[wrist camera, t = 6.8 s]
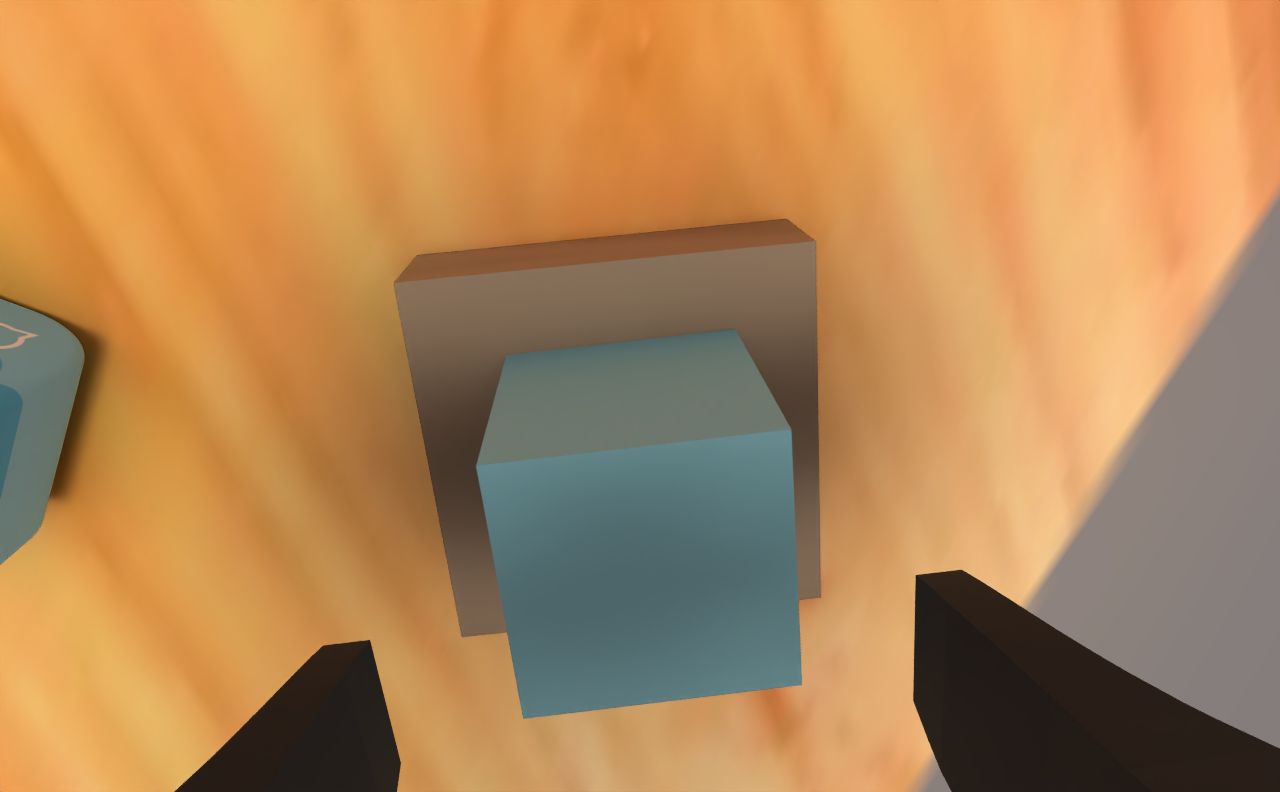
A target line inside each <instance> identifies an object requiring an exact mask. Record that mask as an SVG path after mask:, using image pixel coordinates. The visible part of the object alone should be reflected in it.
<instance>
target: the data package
mask: <svg viewBox="0 0 1280 792" xmlns="http://www.w3.org/2000/svg"><path fill="white" fill-rule="evenodd" d="M84 358H85V354H84V350H83V347H82V345H81V343H80V342H79V340H78V339H77V338H76V337H75V335H74V334H73V333H72V332H70V331H69V330H68V329H67V328H65V327H64V326H63V325H61V324H60V323H58V322H56V321H54V320H53V319H51V318H49V317H47V316H44V315H42V314H40V313H37V312H35V311H32V310H30V309H27V308H24V307H22V306H19V305H16V304H13V303H11V302H8V301H5V300H3V299H0V565H1V564H2V563H3V562H4V561H5V560H6V559H8V558H9V557H10V556H11V555H12V554H13V553H15V552H16V551H17V550H18V549H19V548H20V547H21V546H23V545H24V544H25V543H26V542H27V541H28V540H30V539H31V538H32V537H33V536H34V535H35V534H36V532H37V531H38V529H39V528H40V526H41V524H42V522H43V519H44V515H45V512H46V508H47V504H48V500H49V496H50V492H51V488H52V485H53V481H54V477H55V473H56V469H57V465H58V461H59V458H60V454H61V450H62V446H63V442H64V438H65V434H66V430H67V427H68V423H69V419H70V415H71V411H72V407H73V403H74V400H75V396H76V392H77V388H78V384H79V380H80V376H81V373H82V369H83V365H84Z"/></svg>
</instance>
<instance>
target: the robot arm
mask: <svg viewBox="0 0 1280 792" xmlns="http://www.w3.org/2000/svg"><path fill="white" fill-rule="evenodd" d="M913 701H914V704H915V706H916V709H917V711H918V714H919V717H920V719H921V722H922V725H923V727H924V730H925V733H926V735H927V738H928V741H929V743H930V745H931V748H932V750H933V753H934V755H935V758H936V760H937V763H938V765H939V768H940V770H941V772H942V774H943V776H944V778H945V780H946V782H947V783H948V786H949V788H950V789H951V791H952V792H1280V748H1277V747H1275V746H1273V745H1271V744H1269V743H1266V742H1264V741H1262V740H1260V739H1258V738H1256V737H1254V736H1251V735H1249V734H1247V733H1245V732H1243V731H1241V730H1239V729H1237V728H1234V727H1232V726H1230V725H1228V724H1226V723H1224V722H1222V721H1219V720H1217V719H1215V718H1213V717H1211V716H1209V715H1207V714H1205V713H1203V712H1201V711H1199V710H1197V709H1195V708H1193V707H1191V706H1189V705H1187V704H1185V703H1183V702H1181V701H1180V700H1178V699H1176V698H1174V697H1172V696H1170V695H1169V694H1167V693H1165V692H1163V691H1161V690H1159V689H1158V688H1156V687H1154V686H1152V685H1150V684H1148V683H1147V682H1145V681H1143V680H1141V679H1139V678H1137V677H1136V676H1134V675H1132V674H1130V673H1128V672H1127V671H1125V670H1123V669H1121V668H1120V667H1118V666H1116V665H1115V664H1113V663H1111V662H1109V661H1107V660H1106V659H1104V658H1102V657H1101V656H1099V655H1098V654H1096V653H1094V652H1092V651H1091V650H1089V649H1088V648H1086V647H1084V646H1083V645H1081V644H1079V643H1078V642H1076V641H1074V640H1073V639H1071V638H1070V637H1068V636H1066V635H1065V634H1063V633H1062V632H1060V631H1058V630H1056V629H1055V628H1054V627H1052V626H1050V625H1049V624H1047V623H1046V622H1044V621H1042V620H1041V619H1039V618H1038V617H1036V616H1035V615H1033V614H1031V613H1030V612H1028V611H1027V610H1025V609H1024V608H1022V607H1021V606H1019V605H1017V604H1016V603H1014V602H1013V601H1011V600H1010V599H1008V598H1007V597H1005V596H1003V595H1002V594H1000V593H999V592H997V591H996V590H994V589H992V588H991V587H989V586H988V585H986V584H985V583H983V582H981V581H980V580H978V579H976V578H975V577H973V576H971V575H970V574H968V573H966V572H964V571H963V570H956V571H947V572H939V573H930V574H922V575H916V590H915V641H914V693H913ZM400 765H401V762H400V758H399V754H398V750H397V746H396V742H395V738H394V734H393V730H392V726H391V722H390V718H389V714H388V710H387V706H386V702H385V698H384V694H383V690H382V686H381V682H380V678H379V674H378V670H377V666H376V662H375V658H374V654H373V650H372V646H371V642H370V640H367V641H358V642H350V643H342V644H333V645H325V646H322V647H321V648H320V649H319V650H318V651H317V652H316V653H315V654H314V655H313V656H312V657H311V658H310V659H309V660H308V661H307V662H306V663H305V664H304V665H303V666H302V667H301V668H300V669H299V670H298V671H297V672H296V673H295V674H294V675H293V676H292V677H291V678H290V679H289V680H288V681H287V682H286V683H285V684H284V685H283V686H282V687H281V688H280V689H279V690H278V691H277V692H276V693H275V694H274V695H273V696H272V697H271V698H270V699H269V700H268V701H267V702H266V703H265V705H264V706H263V707H262V708H261V709H260V710H259V711H258V712H257V713H256V714H255V715H254V716H253V717H252V718H251V719H250V720H249V721H248V722H247V723H246V724H245V725H244V726H243V727H242V728H241V729H240V730H239V731H238V732H237V733H236V734H235V735H234V736H233V737H232V738H231V739H230V740H229V741H228V742H227V743H226V744H225V745H224V746H223V747H222V748H221V749H220V750H219V751H218V752H217V753H216V754H215V755H214V756H213V757H211V758H210V759H209V760H208V761H207V762H206V763H205V764H204V765H203V766H202V767H201V768H200V769H199V770H197V771H196V772H195V773H194V774H193V775H192V776H191V777H190V778H189V779H188V780H187V781H186V782H184V783H183V784H182V785H181V786H180V787H179V788H178V789H177V790H176V791H175V792H397V787H398V780H399V773H400Z"/></svg>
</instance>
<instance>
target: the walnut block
mask: <svg viewBox="0 0 1280 792" xmlns="http://www.w3.org/2000/svg"><path fill="white" fill-rule="evenodd" d="M394 288H395V293H396V298H397V303H398V308H399V314H400V319H401V324H402V329H403V334H404V340H405V345H406V350H407V355H408V360H409V366H410V371H411V376H412V381H413V386H414V392H415V397H416V402H417V407H418V412H419V418H420V423H421V428H422V433H423V438H424V444H425V449H426V454H427V459H428V464H429V470H430V475H431V480H432V485H433V490H434V495H435V501H436V506H437V511H438V516H439V521H440V527H441V532H442V537H443V542H444V547H445V553H446V558H447V563H448V568H449V573H450V579H451V584H452V589H453V594H454V599H455V605H456V610H457V615H458V620H459V625H460V631H461V636H462V637H468V636H477V635H486V634H495V633H504V632H507V629H506V623H505V618H504V613H503V607H502V602H501V596H500V591H499V586H498V580H497V575H496V570H495V564H494V559H493V554H492V548H491V543H490V538H489V532H488V527H487V522H486V516H485V511H484V506H483V500H482V495H481V489H480V484H479V479H478V473H477V468H476V464H477V461H478V457H479V453H480V450H481V446H482V442H483V439H484V435H485V431H486V428H487V424H488V420H489V417H490V413H491V409H492V406H493V402H494V399H495V395H496V391H497V388H498V384H499V380H500V377H501V373H502V369H503V366H504V362H505V358H506V355H513V354H521V353H530V352H539V351H548V350H557V349H565V348H574V347H583V346H592V345H601V344H609V343H618V342H627V341H636V340H644V339H653V338H662V337H671V336H680V335H688V334H697V333H706V332H715V331H723V330H732V329H736V331H737V333H738V335H739V336H740V338H741V340H742V342H743V344H744V345H745V347H746V349H747V351H748V353H749V354H750V356H751V358H752V360H753V361H754V363H755V365H756V367H757V369H758V370H759V372H760V374H761V376H762V378H763V379H764V381H765V383H766V385H767V387H768V388H769V390H770V392H771V394H772V396H773V397H774V399H775V401H776V403H777V405H778V406H779V408H780V410H781V412H782V413H783V415H784V417H785V419H786V421H787V422H788V424H789V426H790V428H791V433H792V457H793V482H794V506H795V530H796V554H797V578H798V600H803V599H812V598H821V578H820V507H819V437H818V366H817V296H816V241H815V240H814V239H812V238H811V237H810V236H808V235H807V234H806V233H804V232H803V231H802V230H801V229H799V228H798V227H797V226H795V225H794V224H793V223H791V222H790V221H789V220H787V219H780V220H770V221H760V222H750V223H739V224H729V225H719V226H709V227H699V228H689V229H678V230H668V231H658V232H648V233H638V234H628V235H617V236H607V237H597V238H587V239H577V240H567V241H556V242H546V243H536V244H526V245H516V246H506V247H495V248H485V249H475V250H465V251H455V252H445V253H435V254H424V255H417V256H416V257H415V259H414V260H413V261H412V262H411V263H410V264H409V266H408V267H407V268H406V269H405V270H404V271H403V273H402V274H401V275H400V276H399V277H398V278H397V280H396V281H395V282H394Z"/></svg>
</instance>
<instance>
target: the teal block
mask: <svg viewBox="0 0 1280 792" xmlns="http://www.w3.org/2000/svg"><path fill="white" fill-rule="evenodd" d="M476 468H477V473H478V479H479V484H480V489H481V495H482V500H483V506H484V511H485V516H486V522H487V527H488V532H489V538H490V543H491V548H492V554H493V559H494V564H495V570H496V575H497V580H498V586H499V591H500V596H501V602H502V607H503V613H504V618H505V623H506V629H507V634H508V639H509V645H510V650H511V655H512V661H513V666H514V671H515V677H516V682H517V687H518V693H519V698H520V703H521V709H522V714H523V719H525V718H533V717H541V716H550V715H558V714H566V713H574V712H583V711H591V710H599V709H608V708H616V707H624V706H632V705H641V704H649V703H657V702H665V701H674V700H682V699H690V698H698V697H707V696H715V695H723V694H731V693H740V692H748V691H756V690H764V689H773V688H781V687H789V686H797V685H802V674H801V650H800V626H799V602H798V578H797V554H796V530H795V506H794V482H793V457H792V433H791V428H790V426H789V424H788V422H787V421H786V419H785V417H784V415H783V413H782V412H781V410H780V408H779V406H778V405H777V403H776V401H775V399H774V397H773V396H772V394H771V392H770V390H769V388H768V387H767V385H766V383H765V381H764V379H763V378H762V376H761V374H760V372H759V370H758V369H757V367H756V365H755V363H754V361H753V360H752V358H751V356H750V354H749V353H748V351H747V349H746V347H745V345H744V344H743V342H742V340H741V338H740V336H739V335H738V333H737V331H736V329H732V330H723V331H715V332H706V333H697V334H688V335H680V336H671V337H662V338H653V339H644V340H636V341H627V342H618V343H609V344H601V345H592V346H583V347H574V348H565V349H557V350H548V351H539V352H530V353H521V354H513V355H506V358H505V362H504V366H503V369H502V373H501V377H500V380H499V384H498V388H497V391H496V395H495V399H494V402H493V406H492V409H491V413H490V417H489V420H488V424H487V428H486V431H485V435H484V439H483V442H482V446H481V450H480V453H479V457H478V461H477V464H476Z"/></svg>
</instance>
